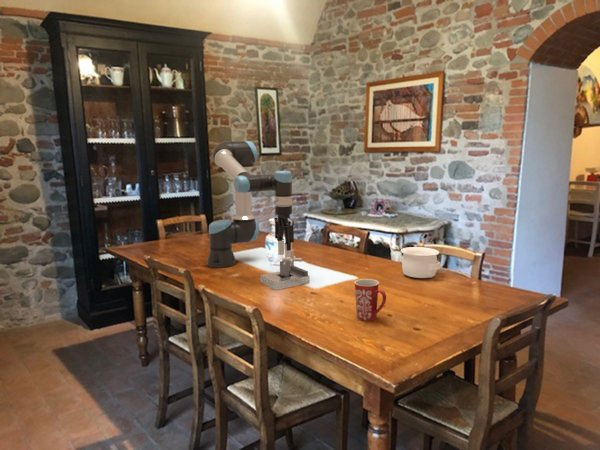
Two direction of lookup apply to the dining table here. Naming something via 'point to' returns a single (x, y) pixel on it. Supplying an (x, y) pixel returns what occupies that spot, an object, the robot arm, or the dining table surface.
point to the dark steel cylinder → (284, 269)
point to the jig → (286, 278)
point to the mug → (367, 299)
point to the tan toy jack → (292, 258)
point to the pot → (419, 262)
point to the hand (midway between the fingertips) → (284, 255)
